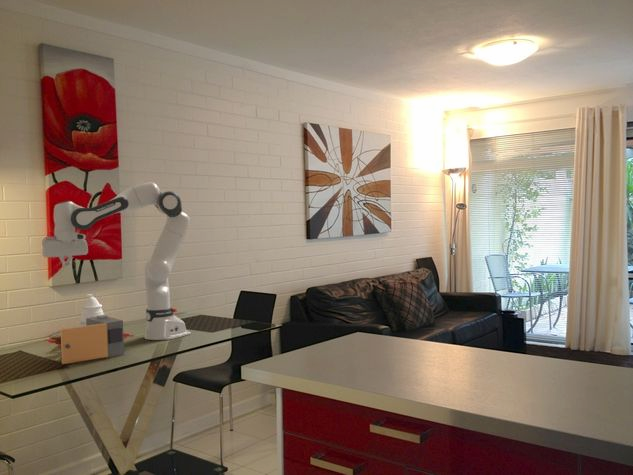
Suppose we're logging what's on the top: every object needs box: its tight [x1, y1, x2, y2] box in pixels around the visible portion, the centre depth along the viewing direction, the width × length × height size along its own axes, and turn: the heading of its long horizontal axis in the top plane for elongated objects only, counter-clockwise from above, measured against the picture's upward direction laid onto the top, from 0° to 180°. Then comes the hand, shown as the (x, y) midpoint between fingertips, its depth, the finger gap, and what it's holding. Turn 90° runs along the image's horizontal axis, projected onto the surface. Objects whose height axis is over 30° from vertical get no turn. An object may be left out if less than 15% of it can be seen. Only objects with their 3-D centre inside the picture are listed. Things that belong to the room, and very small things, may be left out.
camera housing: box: [86, 314, 125, 359], centre depth 263 cm, size 8×19×16 cm, turn 46°
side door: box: [60, 323, 108, 365], centre depth 248 cm, size 3×18×14 cm, turn 127°
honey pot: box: [79, 293, 105, 327], centre depth 322 cm, size 13×13×18 cm
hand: (66, 265), depth 281 cm, fingers closed
